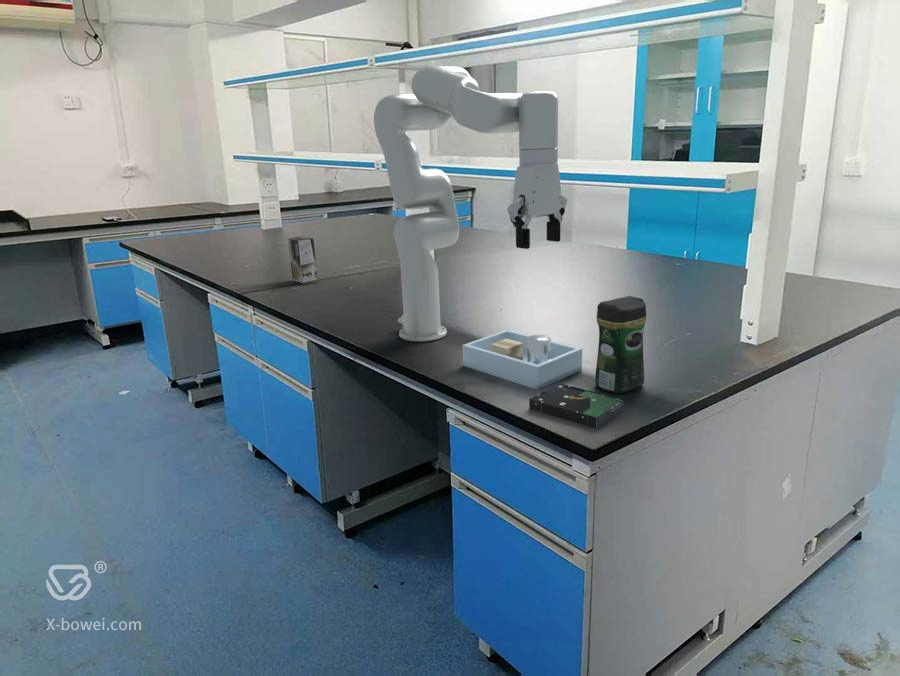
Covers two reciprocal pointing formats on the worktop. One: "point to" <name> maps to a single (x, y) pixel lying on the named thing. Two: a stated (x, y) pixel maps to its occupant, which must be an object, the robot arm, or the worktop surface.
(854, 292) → the worktop surface
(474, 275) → the worktop surface
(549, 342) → the aluminium cylinder
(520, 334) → the tray
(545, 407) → the disk drive
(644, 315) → the coffee jar
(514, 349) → the wooden cube
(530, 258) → the worktop surface
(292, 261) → the coffee box
